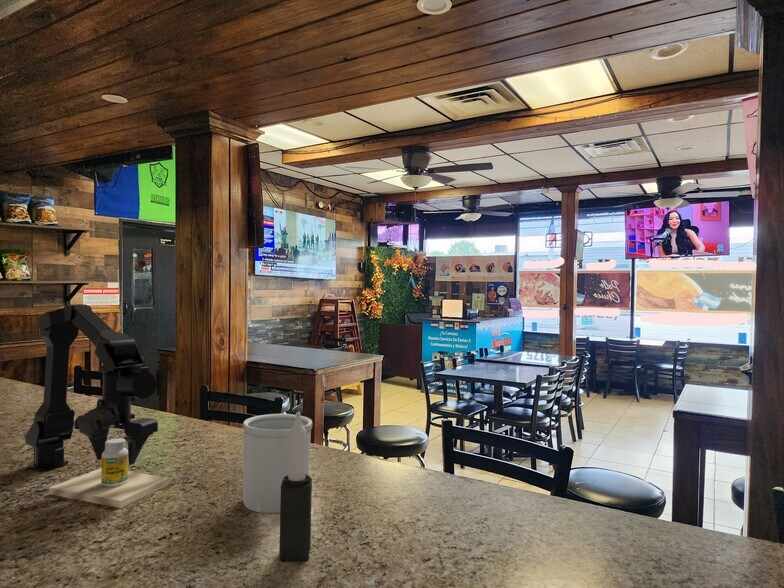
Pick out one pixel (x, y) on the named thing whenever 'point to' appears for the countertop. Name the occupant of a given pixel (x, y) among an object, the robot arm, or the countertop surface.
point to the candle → (296, 500)
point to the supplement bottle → (114, 463)
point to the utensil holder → (268, 459)
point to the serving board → (109, 488)
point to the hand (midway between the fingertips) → (115, 461)
